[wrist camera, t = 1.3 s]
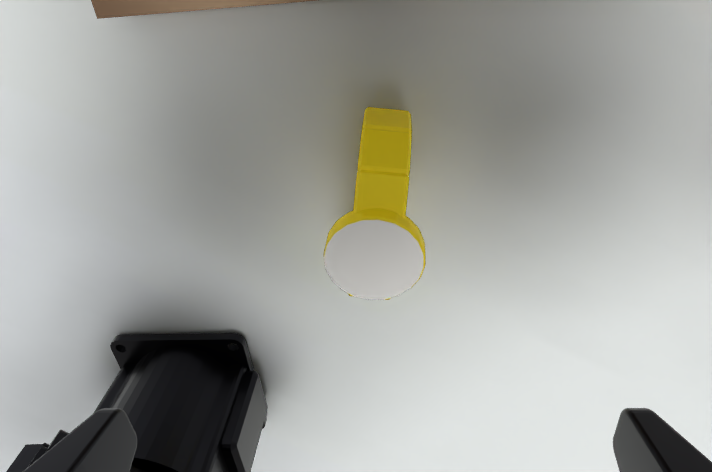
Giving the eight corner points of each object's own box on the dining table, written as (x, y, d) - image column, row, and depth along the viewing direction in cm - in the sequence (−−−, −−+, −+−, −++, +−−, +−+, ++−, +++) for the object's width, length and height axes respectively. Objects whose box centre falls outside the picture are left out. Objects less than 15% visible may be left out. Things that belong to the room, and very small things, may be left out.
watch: (407, 234, 20) (409, 347, 15) (339, 227, 20) (320, 337, 15) (430, 89, 16) (444, 176, 11) (347, 81, 16) (326, 165, 11)
